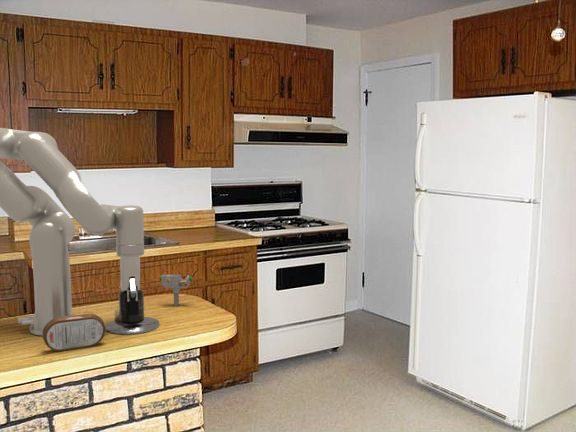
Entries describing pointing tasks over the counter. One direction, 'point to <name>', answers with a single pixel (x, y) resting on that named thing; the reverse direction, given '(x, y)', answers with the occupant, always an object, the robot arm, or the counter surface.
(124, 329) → the plate
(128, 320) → the supplement bottle
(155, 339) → the counter surface
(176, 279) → the mechanical component
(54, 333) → the tin
